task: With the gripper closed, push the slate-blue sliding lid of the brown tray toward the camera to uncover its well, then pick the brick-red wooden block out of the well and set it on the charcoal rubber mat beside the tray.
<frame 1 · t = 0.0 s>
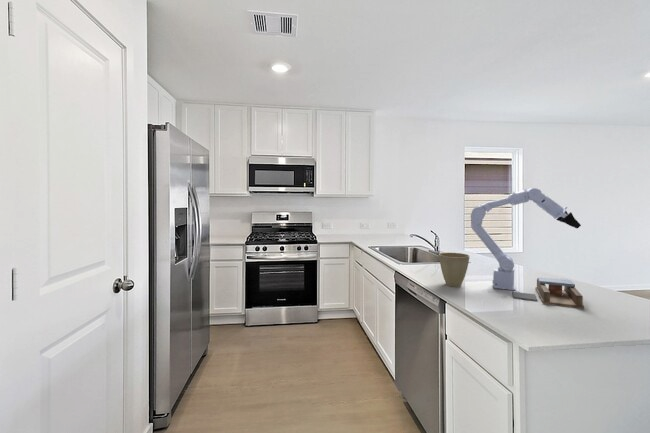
hand: (576, 226, 143), 32 cm above the counter, tool tilted 50°, fingers open, 7 cm apart
plant pot: (453, 285, 164), on the counter
brown tray: (554, 294, 146), on the counter
mat: (524, 296, 143), on the counter
block: (554, 294, 146), resting in brown tray
lid: (555, 281, 146), point 6 cm above the counter, slide at 0.0 cm
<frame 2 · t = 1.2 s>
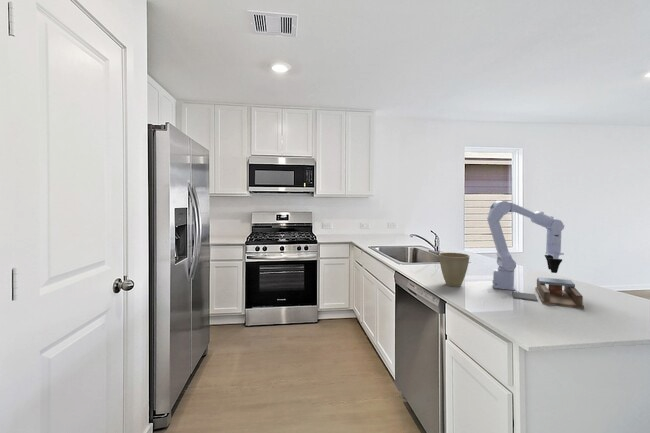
hand: (552, 271, 153), 9 cm above the counter, tool pointing down, fingers open, 7 cm apart
nothing on the counter moved.
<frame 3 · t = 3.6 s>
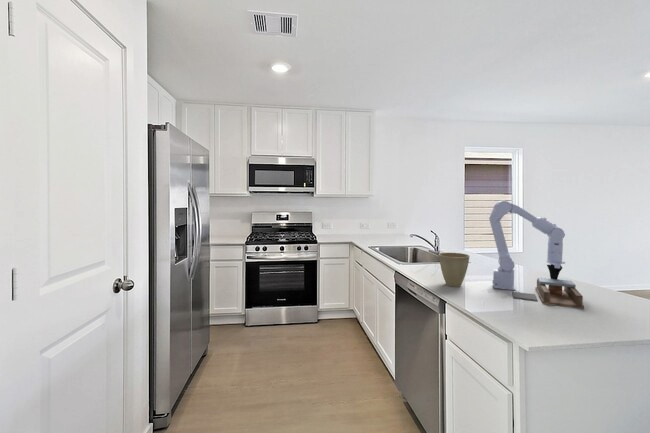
hand: (553, 280, 149), 6 cm above the counter, tool pointing down, fingers closed
lid: (555, 282, 145), point 6 cm above the counter, slide at 1.0 cm, touching gripper
everything else where it was.
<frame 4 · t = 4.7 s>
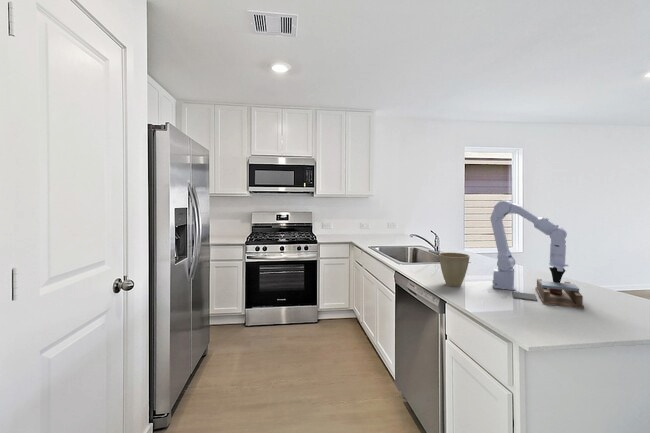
hand: (556, 283, 144), 6 cm above the counter, tool pointing down, fingers closed
lid: (558, 285, 139), point 6 cm above the counter, slide at 7.4 cm, touching gripper
everything else where it was.
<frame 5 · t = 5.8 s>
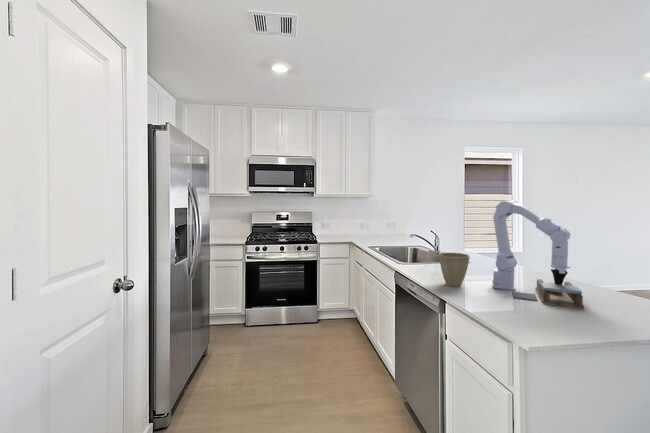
hand: (558, 285, 140), 6 cm above the counter, tool pointing down, fingers closed
lid: (560, 288, 135), point 6 cm above the counter, slide at 11.7 cm, touching gripper
everything else where it was.
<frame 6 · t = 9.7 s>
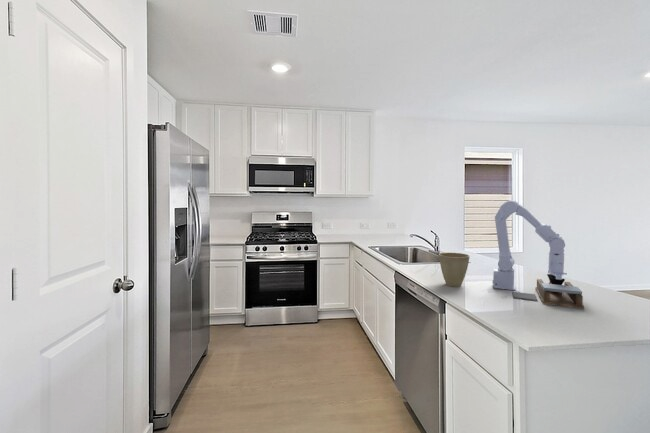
hand: (555, 291, 146), 2 cm above the counter, tool pointing down, fingers closed on block, 4 cm apart
block: (554, 294, 146), resting in brown tray, touching gripper
lid: (560, 288, 135), point 6 cm above the counter, slide at 11.9 cm
everything else where it was.
when the fingers open (3 cm above the counter, at t = 13.8 s): block stays where it is, resting on mat.
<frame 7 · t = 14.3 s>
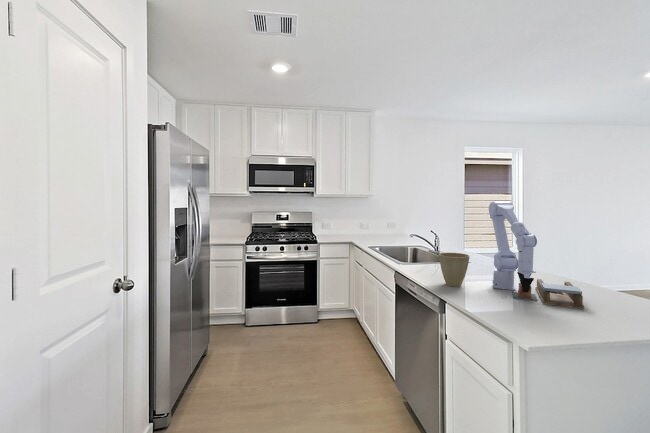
hand: (524, 290, 143), 3 cm above the counter, tool pointing down, fingers open, 7 cm apart
block: (524, 295, 143), point 1 cm above the counter, touching mat
everything else where it was.
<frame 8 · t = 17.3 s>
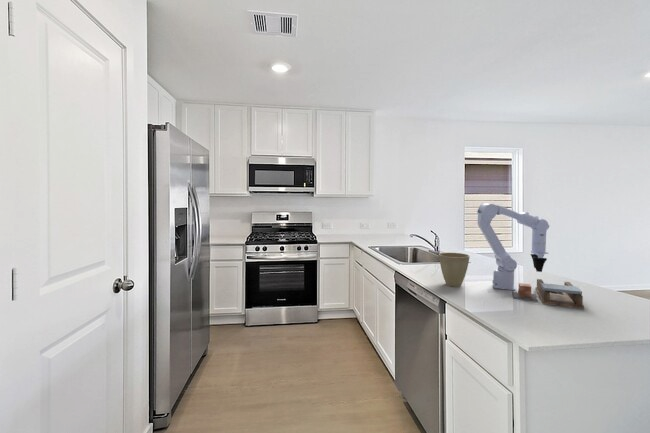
hand: (537, 269, 155), 9 cm above the counter, tool pointing down, fingers open, 7 cm apart
nothing on the counter moved.
at the end: lid slide at 11.9 cm; block 0.1 cm off-centre on the mat, point 0.6 cm above the mat's base; block tilted 0° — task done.
